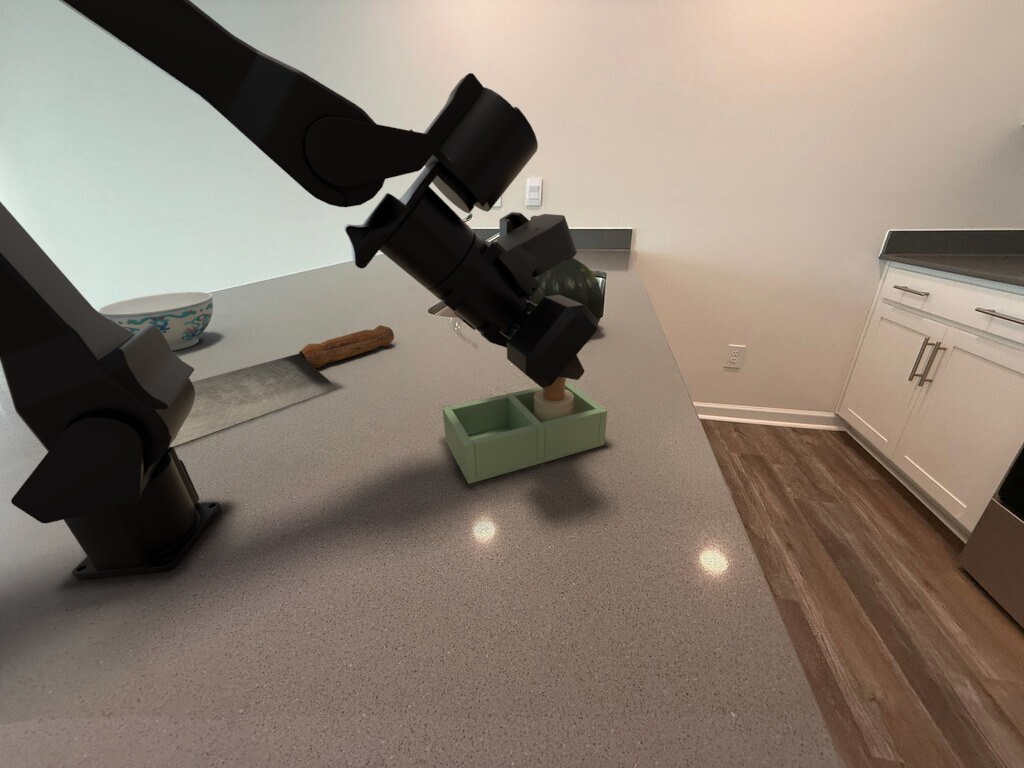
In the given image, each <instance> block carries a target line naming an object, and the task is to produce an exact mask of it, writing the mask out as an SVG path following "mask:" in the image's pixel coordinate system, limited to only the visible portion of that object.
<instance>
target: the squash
mask: <svg viewBox="0 0 1024 768" xmlns="http://www.w3.org/2000/svg"><path fill="white" fill-rule="evenodd" d="M535 279H536V280H537V281H538V282H539V283H540V284H541V286H540V287H539V288H538V290H537V291H536V292H535V293H534V295H533V296H531V297H530V302H532V303H534V304H536V305H537V304H539V302H540V301H541V300H542V299H543V298H544V297H547V296H554V295H561V296H563V297H566V298H568V299H571V300H573V301H576V302H578V303H581V304H583V305H584V306H585V307H586V308H587V309H588V310H589V311H590V312H591V313H592V314H593V315H594V316H595V317H596V319H597V320H598V324H599V323H600V320H601V319H602V314H603V310H604V298H603V292H602V290H601V286H600V283H599V281H598V278H597V277H596V275H595V274H594V273H593V271H592V270H591V268H589V267H588V266H587V265H586V264H584V263H582V262H581V261H579V260H577V259H576V258H575V257H573V258H571V259H570V260H568V261H567V260H564V261H562V262H561V263H559V264H558V265H556V266H554V267H553V268H551V269H550V270H548V271H546V272H545V273H543V274H542V275H540V276H537V277H535Z"/></svg>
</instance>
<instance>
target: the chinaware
mask: <svg viewBox="0 0 1024 768" xmlns="http://www.w3.org/2000/svg"><path fill="white" fill-rule="evenodd" d="M213 311H214V299H213V295H212V294H211V293H209V292H203V291H181V292H169V293H160V294H152V295H146V296H139V297H134V298H128V299H124V300H120V301H115V302H113V303H109V304H107V305H104V306H102V307H100V308H99V309H98V312H99V313H100V314H101V315H103V316H104V317H106V318H108V319H109V320H111V321H113V322H115V323H117V324H118V325H120V326H122V327H124V328H126V329H127V330H129V331H131V332H133V333H136V332H138V331H139V330H141V329H143V328H144V327H146V326H148V325H150V324H154V325H156V326H157V327H158V329H159V330H160V331H161V332H162V333H163V335H164V337H165V339H166V341H167V342H168V344H169V346H170V348H171V349H172V351H177V350H181V349H182V350H183V349H185V348H190V347H192V346H194V345H196V344H197V343H199V336H200V335H202V333H203V332H204V331H205V330H206V329H207V327H208V326H209V324H210V322H211V319H212V316H213Z"/></svg>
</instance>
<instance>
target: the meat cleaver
mask: <svg viewBox="0 0 1024 768" xmlns="http://www.w3.org/2000/svg"><path fill="white" fill-rule="evenodd" d="M394 340H395V334H394V331H393V330H392V328H390V326H385V325H382V324H380V325H379V324H378V325H377V326H376V327H375V328H373V329H364V330H359V331H356V332H351V333H348V334H345V335H342V336H337V337H333V338H329V339H326V340H325V341H322V342H320V343H308V344H306V345H305V346H304V347H302V349H301V350H300V351H299V350H298V351H299V352H298V353H296V354H293V355H292V354H291V355H288V356H285V357H281V358H277V359H273V360H270V361H266V362H261V363H258V364H254V365H251V366H247V367H243V368H240V369H236V370H235V369H234V370H231V371H228V372H224V373H220V374H216V375H213V376H208V377H205V378H201V379H198V380H194V381H191V382H192V384H193V386H194V389H195V394H196V395H195V400H194V403H193V406H192V409H191V411H190V413H189V415H188V416H187V418H186V420H185V422H184V423H183V425H182V427H181V428H180V430H179V432H178V433H177V436H176V438H175V439H174V440H173V442H172V444H171V445H170V447H176V446H179V445H182V444H185V443H187V442H190V441H192V440H196V439H199V438H202V437H204V436H207V435H210V434H212V433H216V432H218V431H221V430H224V429H226V428H230V427H232V426H235V425H238V424H241V423H244V422H247V421H249V420H252V419H255V418H259V417H260V416H263V415H265V414H269V413H272V412H274V411H277V410H280V409H283V408H286V407H289V406H292V405H294V404H297V403H300V402H303V401H306V400H309V399H311V398H315V397H316V396H320V395H322V394H326V393H329V392H331V391H334V390H336V389H338V387H337V386H335V384H333V383H332V382H331V381H330V380H329V379H328V378H327V377H326V376H324V375H323V374H322V373H321V372H320V371H319V370H318V369H319V368H321V367H322V366H324V365H325V364H327V363H333V362H338V361H342V360H345V359H349V358H351V357H354V356H359V355H362V354H364V353H368V352H371V351H374V350H375V349H377V348H379V347H384V348H386V347H388V346H389V345H391V343H392V342H393V341H394Z"/></svg>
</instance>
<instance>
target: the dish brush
mask: <svg viewBox="0 0 1024 768" xmlns="http://www.w3.org/2000/svg"><path fill="white" fill-rule="evenodd" d="M566 379H567V378H563V377H558V378H557V379H556V380H555V382H554V383H553V384H552V385H551V386H548V387H545V388H543V389H540V390H538V391H537V392H536V393H535V394H534V416H535V417H536V418H537V419H538V420H539V421H540V422H541V423H542V422H545V421H549V420H553V419H557V418H561V417H566V416H570V415H573V404H574V395H573V394H572V393H571V392H570V391H568V390H566V389H565V382H566Z"/></svg>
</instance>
